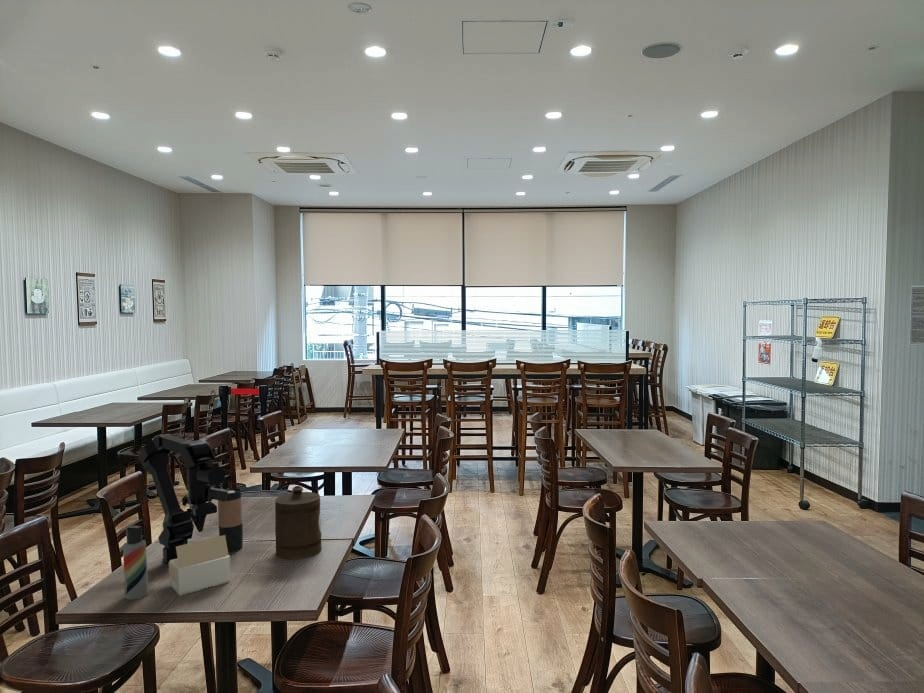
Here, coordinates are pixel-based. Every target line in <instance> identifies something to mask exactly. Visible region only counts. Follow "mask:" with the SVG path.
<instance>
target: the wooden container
mask: <svg viewBox="0 0 924 693" xmlns="http://www.w3.org/2000/svg"><path fill="white" fill-rule="evenodd" d="M291 491H292V492H291V493H290V492H289V493H286V494H285V493H284V494H282V495H279V496H277V497H276V499H275V503H274V506H275V514H274V516H275V518H274V519H275V522H274V523H275V524H274V525H275V527H274V528H275V531H274V532H275V533H274V534H275V554H276V556H277V557H278V558H281V559H283V560H284V559H285V560H301V559H306V558H310V557H312V556H315V555H317V554H319V553H320V552H321V551H322V547H323V546H322V520H321V519H322V518H321V495H320V494H319V493H316V492H314V491H313V492H311V491H304V488H303V487H302V486H301V485H295V486H294V487H292V490H291Z"/></svg>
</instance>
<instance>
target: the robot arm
mask: <svg viewBox="0 0 924 693" xmlns="http://www.w3.org/2000/svg"><path fill="white" fill-rule="evenodd" d="M172 452H173V453H176V454H178V455H180V458H181V459H182V460H184V462H185V463H184V464H183V467H184V468H186V472H187V474H186V475H187V485H186V489H187V492H188V493H187V495H184V496H183V497H182V498H181V505H182V506H183V507H186V506H187V505H189V508H187V509H186V510H183V509H182V508H181V505H180V502H179V500H178V496H177V494H176V490H175V488H174V485H173V482H172V479H171V477H170V473H169V470H168V466H169V462H170V457H169V456H170V454H171V453H172ZM216 456H217V455H216V454H215V453H214V451H213V449H212V448H211V445H210V444H209V442H208V441H207V440H205V439H204V440H203V439H201V440H198V439H197V440H187V439H184V438H181V437H178V436H175V435H173V434H172V433H171V434H170V433H165V434H158V435H156V436H154V437H153V439H152V440H151V441H149V442H148V443H146V444H145V445H144V446H143V447H142V449H141V450H140V452H139V453H138V460H139V462H140V464H141V466H142V468H143V469H144V470H145V471H146V472H148V473H149V474H150V475H151V478H152V480H153V484H154V486H155V489H156V492H157V495H158V499H159V502H160V504H161V508H162V510H163V512H164V517H163V522H162V531H161V533H160V534H159V536H158V543H159V544H160V545H162V546H164V547H163V548H162V555H163V556H162V560H163V562H164V561H165V563H167V564H169V562H170V560H173V559H177V558H178V557H177V551H176V546H180V545H185V544H189V541H188V540H190V539H193V538H192V537H193V534H194V530H195V529H194V528H196V529H197V532H199V533H201V532H203V531H204V527H205V526H204V525H205V522H206V518H207V515H212V514H216V513H218V505H216V504H215V503H213V500H215V501H218V500H221V501H223V502H225V501H226V498H227V494H228V491H226V489H224V488H221V485H220V484H222V483H223V482H224V480H225V479H226V478H225V477H226V471H225V470H224V468H223V467H222V466H220V465H219V462H217V461H218V460H217V458H216ZM162 560H161V561H162Z"/></svg>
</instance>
